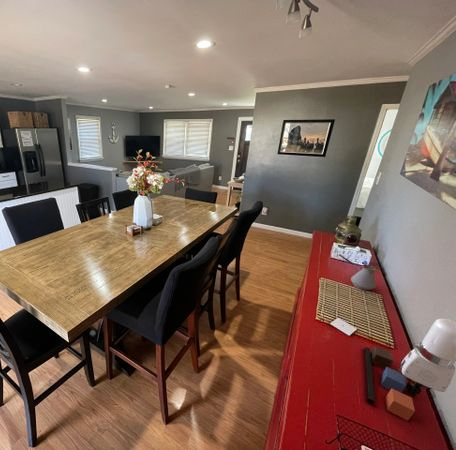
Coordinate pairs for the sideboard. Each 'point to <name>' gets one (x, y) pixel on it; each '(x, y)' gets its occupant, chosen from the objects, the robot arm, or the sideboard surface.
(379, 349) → the walnut block
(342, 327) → the coaster
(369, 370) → the rail
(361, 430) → the sideboard surface
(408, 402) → the terracotta block
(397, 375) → the slate blue block
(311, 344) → the sideboard surface
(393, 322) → the sideboard surface
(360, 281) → the coffee pot
